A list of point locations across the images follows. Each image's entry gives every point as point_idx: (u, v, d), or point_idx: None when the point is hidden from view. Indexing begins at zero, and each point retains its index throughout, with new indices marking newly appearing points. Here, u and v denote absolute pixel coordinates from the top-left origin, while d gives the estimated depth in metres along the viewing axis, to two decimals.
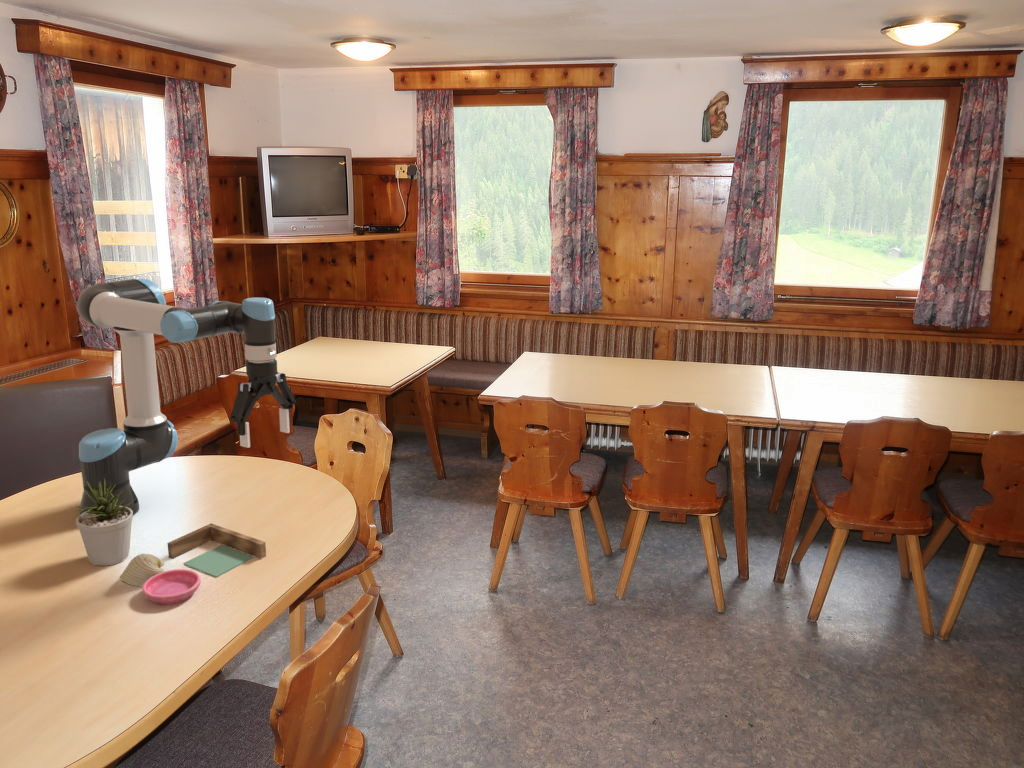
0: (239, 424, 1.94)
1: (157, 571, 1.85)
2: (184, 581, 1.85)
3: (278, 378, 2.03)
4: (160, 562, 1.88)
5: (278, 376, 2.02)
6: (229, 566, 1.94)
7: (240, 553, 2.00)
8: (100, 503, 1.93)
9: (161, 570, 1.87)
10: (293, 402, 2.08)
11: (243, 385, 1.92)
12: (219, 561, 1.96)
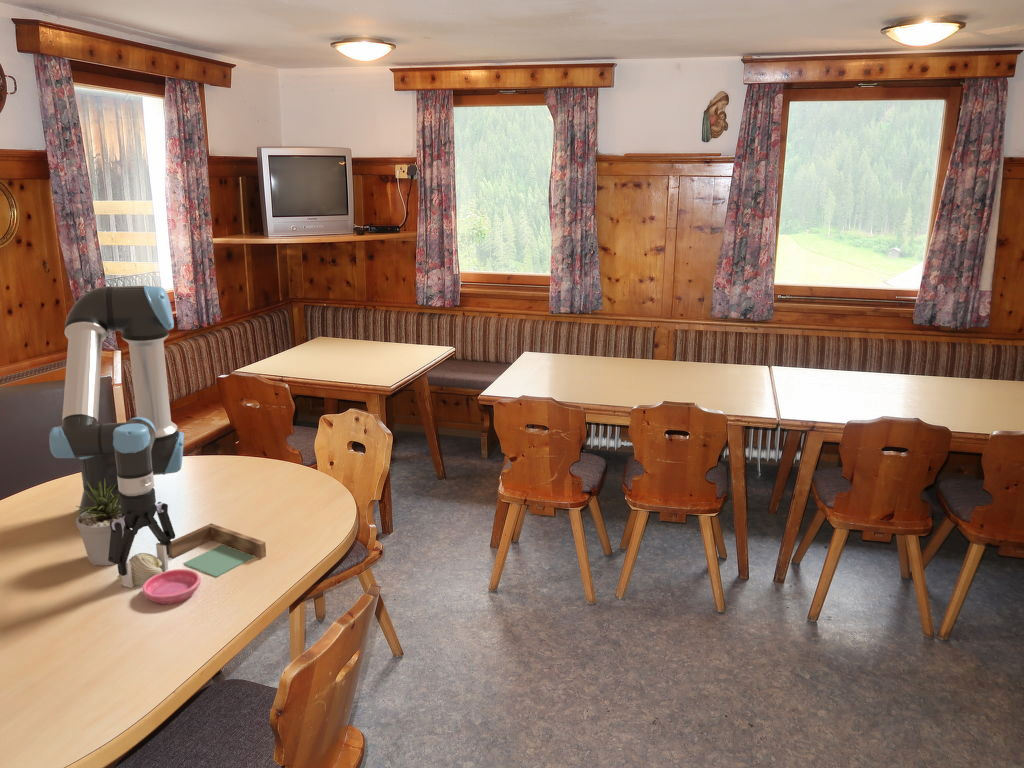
0: (119, 564, 1.80)
1: (155, 570, 1.85)
2: (184, 581, 1.85)
3: (159, 508, 1.87)
4: (158, 561, 1.88)
5: (159, 506, 1.87)
6: (229, 566, 1.94)
7: (240, 553, 2.00)
8: (100, 503, 1.93)
9: (159, 570, 1.87)
10: (172, 536, 1.91)
11: (114, 525, 1.77)
12: (219, 561, 1.96)
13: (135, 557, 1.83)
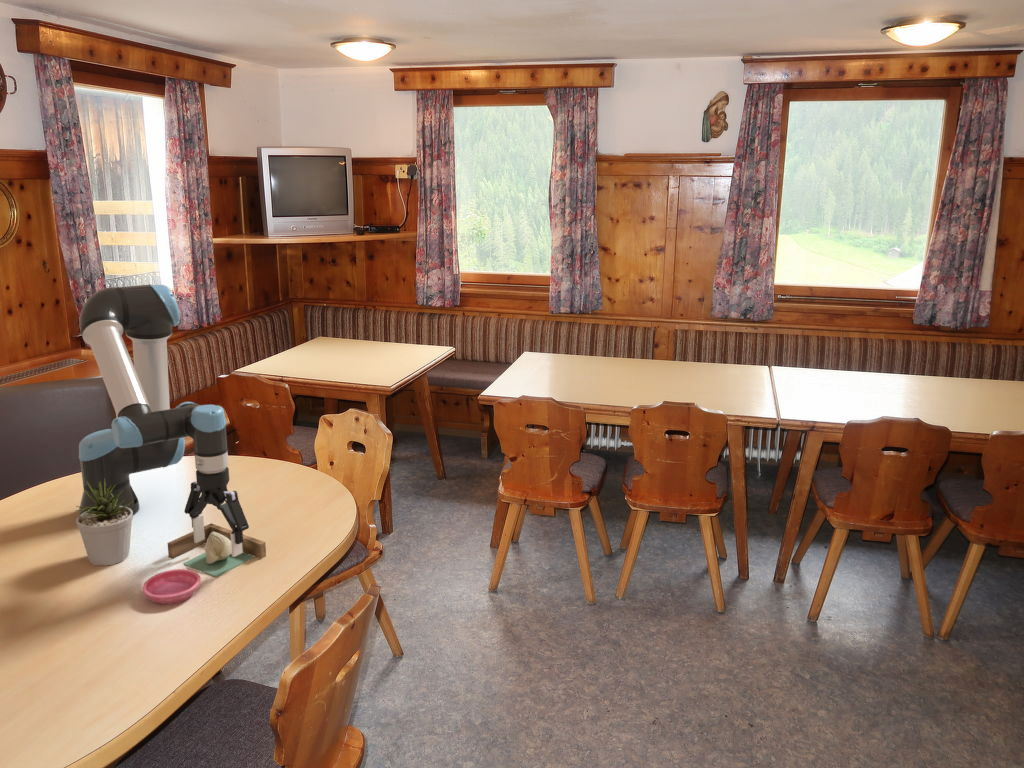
0: None
1: (208, 555, 1.93)
2: (185, 581, 1.85)
3: None
4: (222, 552, 1.93)
5: None
6: (229, 566, 1.94)
7: None
8: (100, 503, 1.93)
9: (212, 557, 1.93)
10: (238, 529, 1.88)
11: None
12: (219, 561, 1.96)
13: (210, 533, 1.96)
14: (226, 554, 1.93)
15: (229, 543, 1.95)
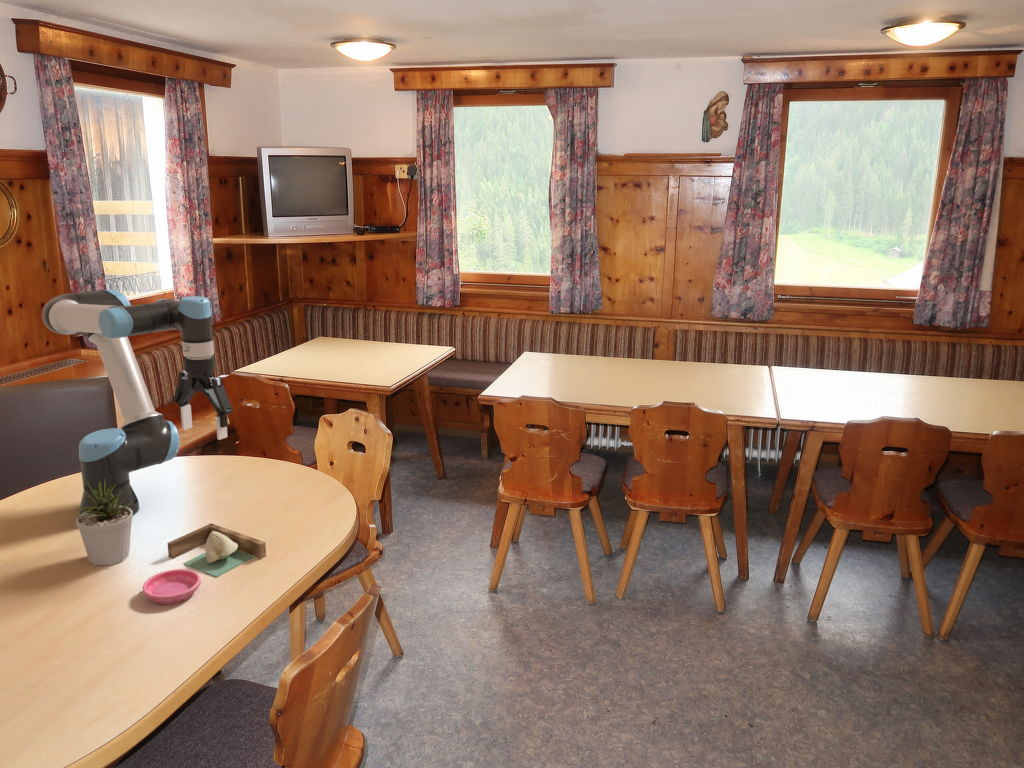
0: None
1: (208, 554, 1.93)
2: (185, 581, 1.85)
3: (212, 381, 2.02)
4: (222, 551, 1.94)
5: (212, 379, 2.02)
6: (229, 566, 1.94)
7: (240, 553, 2.00)
8: (100, 503, 1.93)
9: (212, 556, 1.93)
10: (223, 412, 2.02)
11: None
12: (219, 561, 1.96)
13: (211, 532, 1.96)
14: (226, 553, 1.93)
15: (229, 542, 1.96)
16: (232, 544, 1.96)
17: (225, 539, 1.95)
